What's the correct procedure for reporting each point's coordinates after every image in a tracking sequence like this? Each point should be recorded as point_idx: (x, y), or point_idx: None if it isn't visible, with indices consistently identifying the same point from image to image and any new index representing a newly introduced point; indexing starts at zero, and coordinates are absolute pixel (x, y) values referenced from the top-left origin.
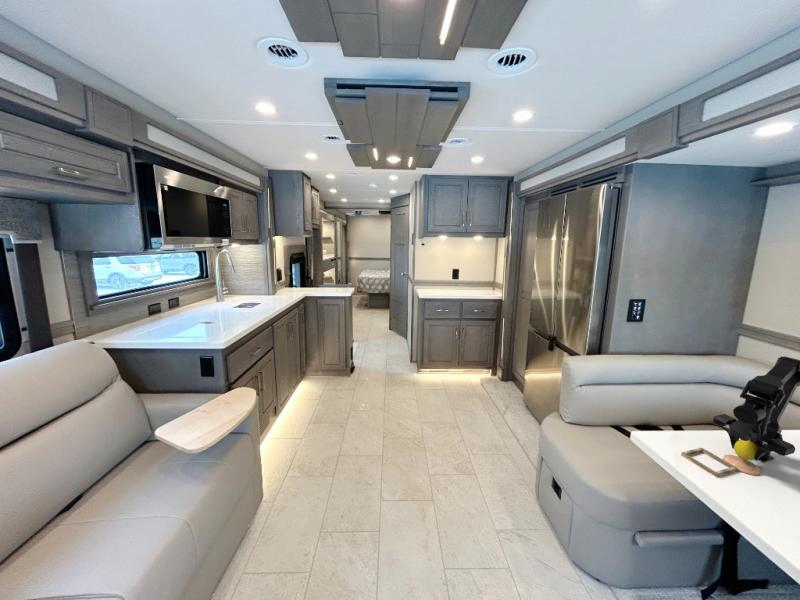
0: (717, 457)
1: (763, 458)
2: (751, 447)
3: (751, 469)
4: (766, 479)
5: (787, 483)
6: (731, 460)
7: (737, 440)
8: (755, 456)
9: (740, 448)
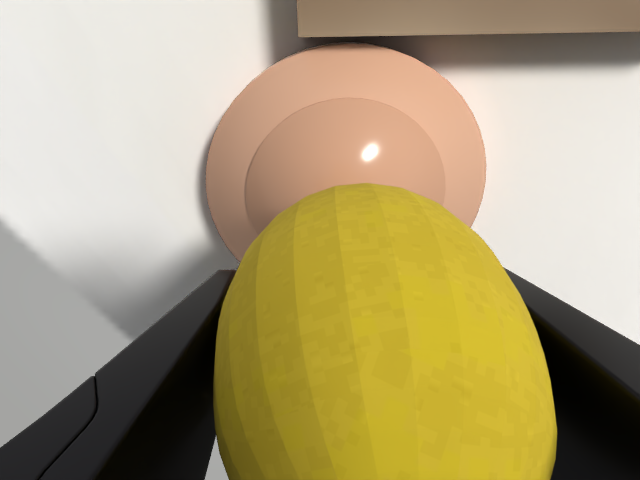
0: (521, 6)
1: None
2: (256, 432)
3: (254, 190)
4: (158, 198)
5: (117, 297)
6: (409, 148)
7: None
8: (209, 304)
9: (404, 248)
